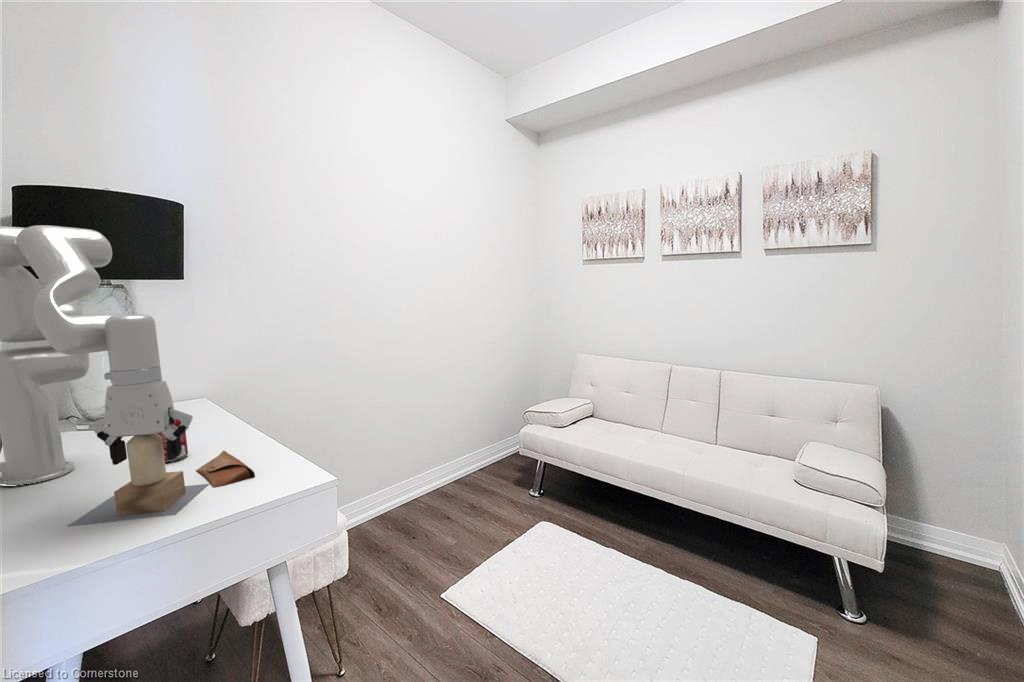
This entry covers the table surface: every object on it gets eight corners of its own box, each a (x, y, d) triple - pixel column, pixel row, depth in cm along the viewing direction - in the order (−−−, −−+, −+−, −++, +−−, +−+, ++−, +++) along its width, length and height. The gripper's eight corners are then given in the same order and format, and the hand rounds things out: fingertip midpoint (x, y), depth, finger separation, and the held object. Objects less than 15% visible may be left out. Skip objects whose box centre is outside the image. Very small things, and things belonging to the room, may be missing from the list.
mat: (67, 529, 81) (66, 526, 81) (118, 495, 95) (118, 492, 95) (175, 517, 84) (175, 514, 84) (210, 486, 98) (209, 483, 98)
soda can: (190, 458, 115) (185, 414, 114) (158, 466, 110) (152, 420, 109) (185, 452, 120) (180, 410, 118) (154, 459, 115) (148, 415, 113)
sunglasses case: (189, 471, 106) (203, 445, 108) (219, 477, 111) (232, 452, 113) (214, 492, 95) (229, 462, 97) (246, 497, 100) (260, 469, 102)
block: (117, 516, 84) (114, 491, 84) (143, 497, 92) (140, 474, 91) (164, 511, 86) (161, 487, 85) (185, 493, 94) (183, 470, 93)
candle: (147, 487, 85) (140, 438, 84) (124, 485, 86) (117, 437, 85) (173, 475, 91) (167, 429, 89) (151, 474, 92) (145, 428, 90)
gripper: (70, 383, 80) (83, 471, 82) (176, 378, 84) (185, 462, 86) (100, 376, 88) (111, 457, 90) (195, 371, 91) (204, 449, 93)
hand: (147, 459), depth 88 cm, fingers open, 9 cm apart
